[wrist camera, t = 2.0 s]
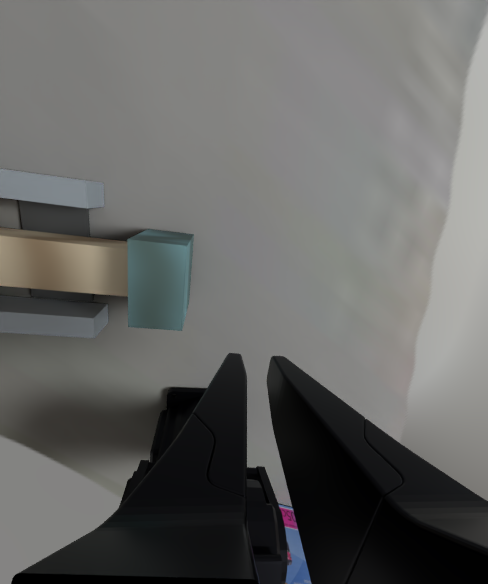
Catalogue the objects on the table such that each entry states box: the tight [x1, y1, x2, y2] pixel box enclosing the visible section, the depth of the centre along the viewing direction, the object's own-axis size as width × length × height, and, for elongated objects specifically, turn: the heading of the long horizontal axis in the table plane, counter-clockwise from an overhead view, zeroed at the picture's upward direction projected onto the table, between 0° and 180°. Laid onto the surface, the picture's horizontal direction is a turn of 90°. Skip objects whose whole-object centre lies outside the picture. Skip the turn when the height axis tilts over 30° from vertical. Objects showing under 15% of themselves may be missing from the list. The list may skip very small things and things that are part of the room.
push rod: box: [0, 227, 194, 331], centre depth 16 cm, size 12×5×4 cm, turn 82°
